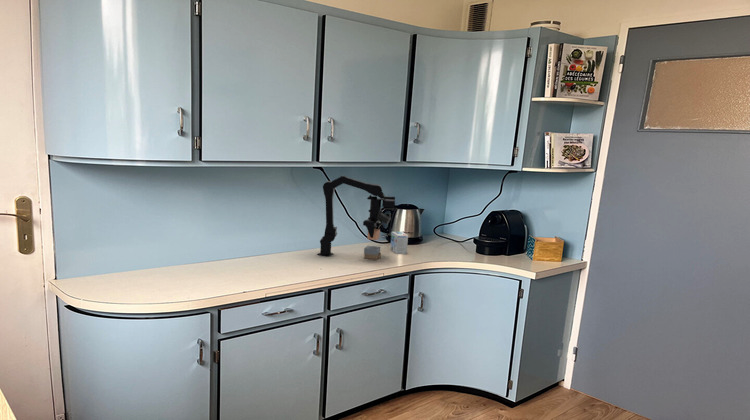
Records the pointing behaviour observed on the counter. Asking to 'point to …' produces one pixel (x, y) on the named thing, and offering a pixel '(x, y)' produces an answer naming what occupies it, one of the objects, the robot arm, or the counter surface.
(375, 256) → the walnut block
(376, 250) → the slate grey block
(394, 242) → the light bulb box
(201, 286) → the counter surface
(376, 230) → the terracotta cube
